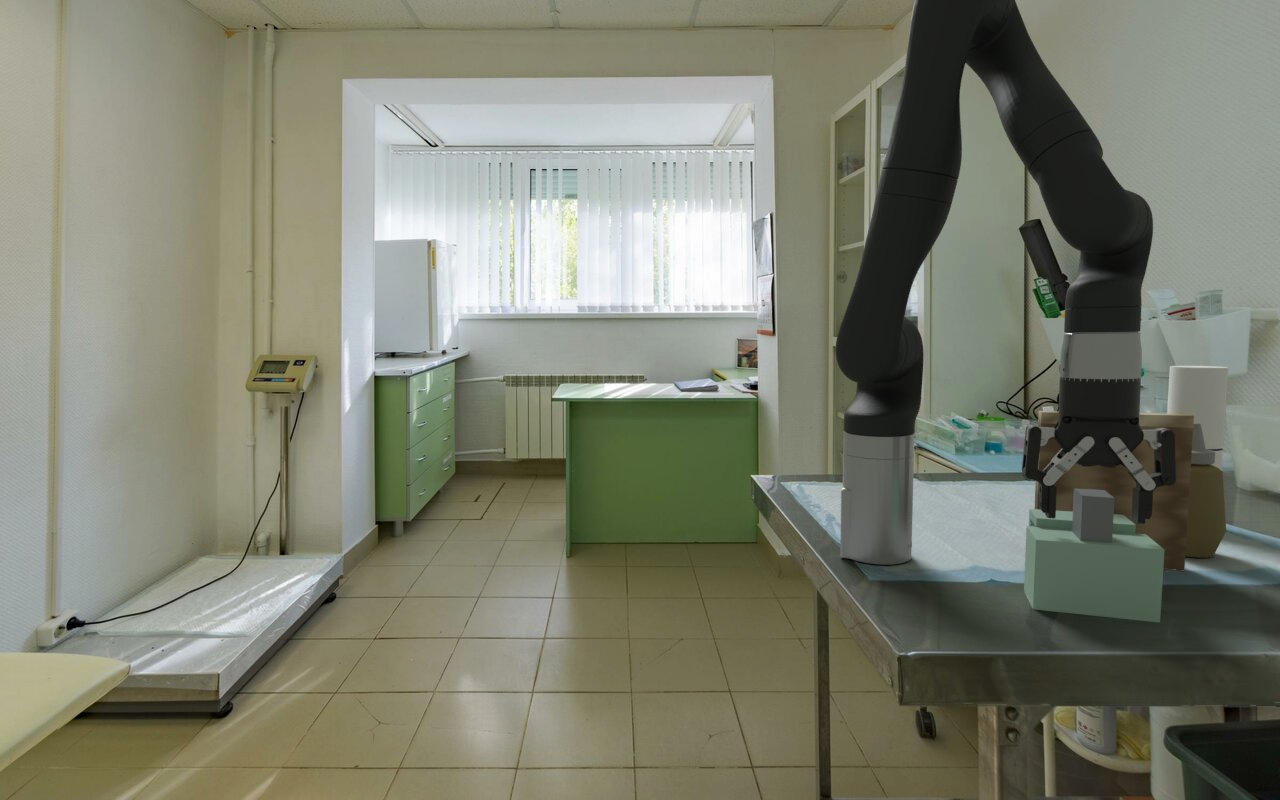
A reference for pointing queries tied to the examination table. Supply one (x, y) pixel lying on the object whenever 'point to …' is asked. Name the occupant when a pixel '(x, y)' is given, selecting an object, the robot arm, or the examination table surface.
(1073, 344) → the robot arm
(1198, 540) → the squeeze bottle
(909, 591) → the examination table surface
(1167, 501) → the wall board
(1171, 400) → the cylindrical container
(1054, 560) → the green box
